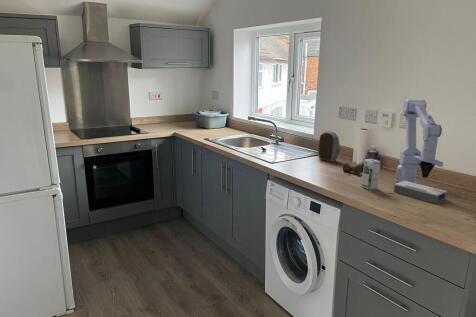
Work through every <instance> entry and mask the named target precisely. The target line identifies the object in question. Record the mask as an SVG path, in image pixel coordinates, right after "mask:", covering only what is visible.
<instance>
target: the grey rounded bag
mask: <svg viewBox="0 0 476 317" xmlns="http://www.w3.org/2000/svg"><path fill="white" fill-rule="evenodd" d="M340 150H341V148H340V140H339V136H338V135H337V133H336V132H334V131H331V130H326V131H324V132H323V133H321V134H320V136H319V139H318V149H317V152H318V158H319V159H320V160H323V161H325V160H326V162H336V161H337V159H338V157H339V156H340V153H341V151H340Z"/></svg>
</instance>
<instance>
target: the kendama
mask: <svg viewBox="0 0 476 317" xmlns="http://www.w3.org/2000/svg"><path fill="white" fill-rule="evenodd" d="M363 168H364V161H363V162H359V163H358V164H356V165H352V164H350V163H349V162H344V163H343V164H342V171H343V172H344V171H347V172H352V173H354V175H356V176H358V174H359V175H360V174H361V173H362V171H363Z"/></svg>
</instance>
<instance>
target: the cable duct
mask: <svg viewBox="0 0 476 317" xmlns="http://www.w3.org/2000/svg"><path fill="white" fill-rule="evenodd" d="M393 193H397V194H401V195H404V196H407V197H410V198H413V199H414V198H415V199H418V200H422V201H426V202H429V203H431V204H439V203H441V202H443V201H445V200H446V197H447V192H446V193H443V194H441V195H439V196H435V195H431V194H427V193H424V192H420V191H416V190H412V189H408V188H405V187H401V186H397V185H395V184H394V188H393Z"/></svg>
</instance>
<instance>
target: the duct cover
mask: <svg viewBox="0 0 476 317" xmlns="http://www.w3.org/2000/svg"><path fill="white" fill-rule="evenodd" d="M395 185H397V186H401V187H405V188H408V189H412V190H416V191H420V192H424V193H427V194H431V195H435V196H439V195H441V194H443V193H446V194H447V190H444V189H440V188H436V187H432V186H428V185H424V184H420V183H413V182H408V181H402V182H396V183H394V186H395Z"/></svg>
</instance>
